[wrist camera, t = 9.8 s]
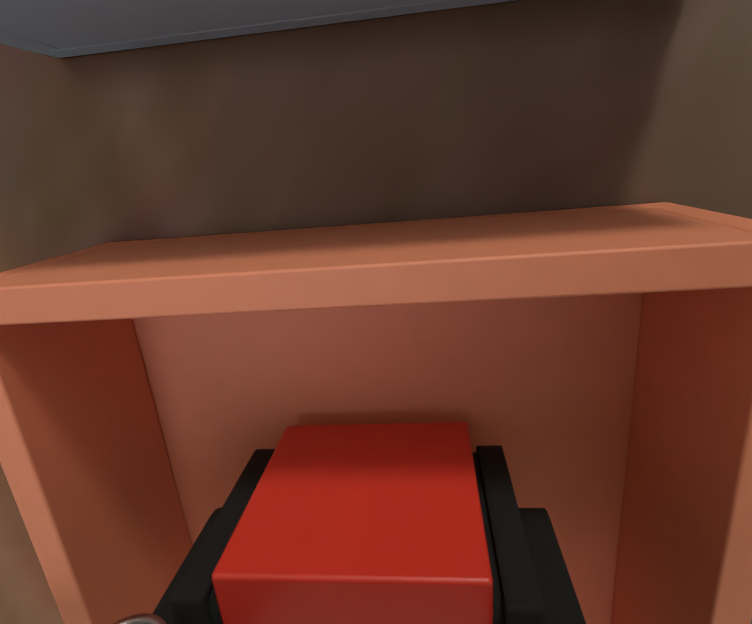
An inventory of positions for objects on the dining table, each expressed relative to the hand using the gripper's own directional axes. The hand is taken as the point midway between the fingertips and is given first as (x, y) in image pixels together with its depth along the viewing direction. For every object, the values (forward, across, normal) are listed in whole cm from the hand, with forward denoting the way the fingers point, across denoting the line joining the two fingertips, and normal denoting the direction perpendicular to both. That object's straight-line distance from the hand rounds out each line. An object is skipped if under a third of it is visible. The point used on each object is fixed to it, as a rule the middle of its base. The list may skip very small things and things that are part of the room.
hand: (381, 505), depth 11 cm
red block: (0, 0, 0) cm, 0 cm away
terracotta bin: (+1, 0, 0) cm, 1 cm away
